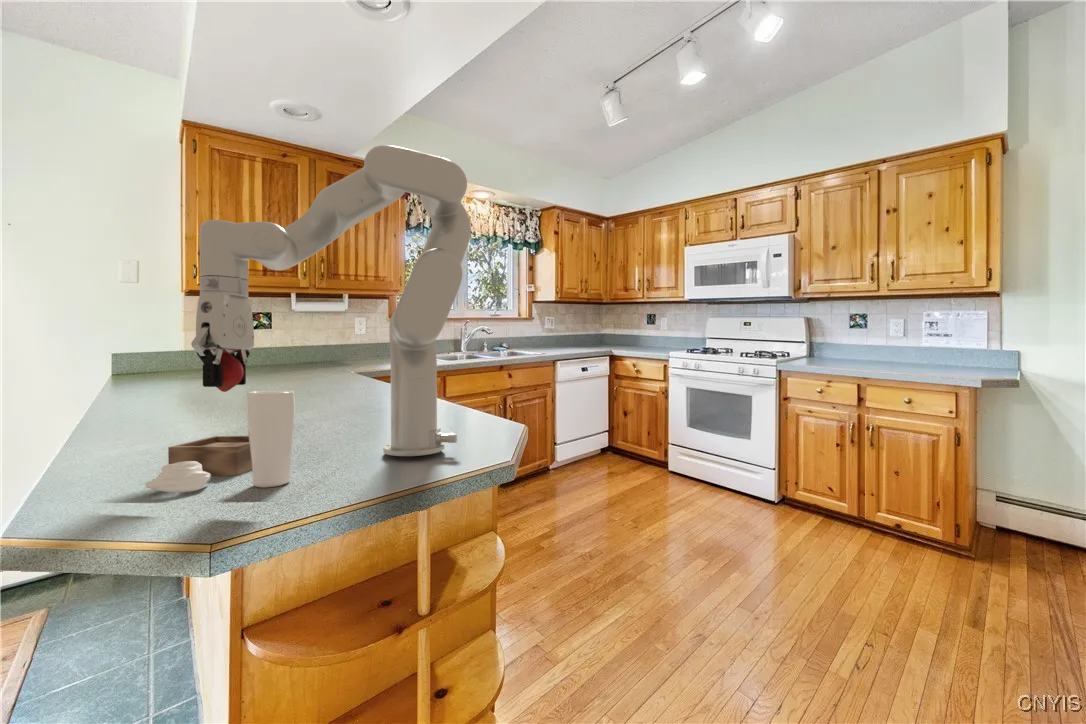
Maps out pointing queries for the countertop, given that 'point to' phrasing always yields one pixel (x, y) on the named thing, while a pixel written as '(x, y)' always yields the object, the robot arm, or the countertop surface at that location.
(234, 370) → the onion
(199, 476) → the whipped cream
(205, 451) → the walnut base
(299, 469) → the countertop surface
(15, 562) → the countertop surface
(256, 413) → the drinking glass
